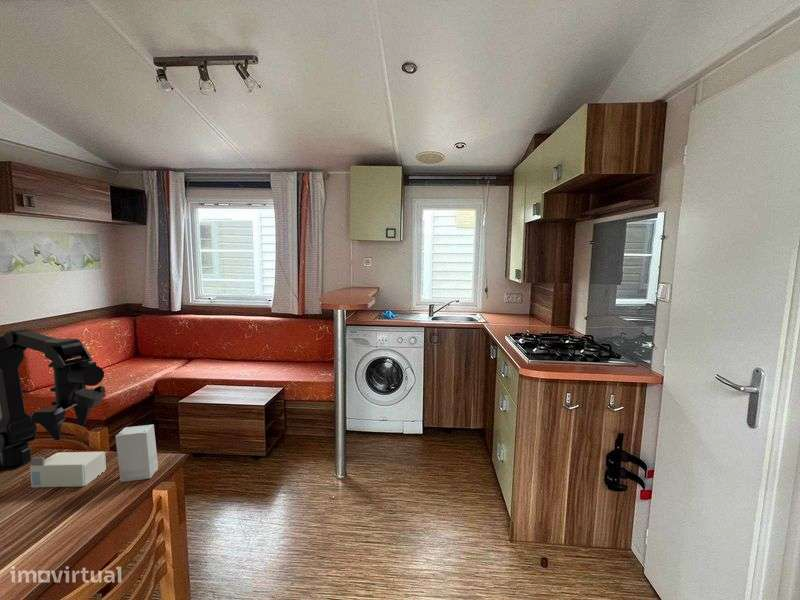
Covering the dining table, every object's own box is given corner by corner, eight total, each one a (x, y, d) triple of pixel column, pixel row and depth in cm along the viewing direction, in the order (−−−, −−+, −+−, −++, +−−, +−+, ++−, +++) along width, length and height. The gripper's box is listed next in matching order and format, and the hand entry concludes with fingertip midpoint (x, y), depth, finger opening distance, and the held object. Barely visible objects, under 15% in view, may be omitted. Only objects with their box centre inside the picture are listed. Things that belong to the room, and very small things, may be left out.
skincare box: (158, 468, 113) (156, 423, 112) (149, 479, 108) (147, 432, 106) (128, 471, 112) (125, 425, 110) (117, 483, 106) (114, 434, 104)
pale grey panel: (31, 487, 103) (28, 458, 102) (33, 486, 103) (31, 457, 102) (82, 486, 103) (80, 457, 103) (84, 485, 104) (82, 456, 103)
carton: (34, 486, 103) (32, 466, 103) (58, 471, 111) (57, 452, 111) (85, 485, 104) (84, 465, 104) (106, 470, 112) (105, 451, 112)
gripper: (71, 393, 98) (74, 447, 100) (118, 372, 117) (120, 419, 118) (27, 393, 97) (30, 448, 99) (81, 372, 116) (83, 419, 117)
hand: (70, 432), depth 108 cm, fingers open, 9 cm apart
